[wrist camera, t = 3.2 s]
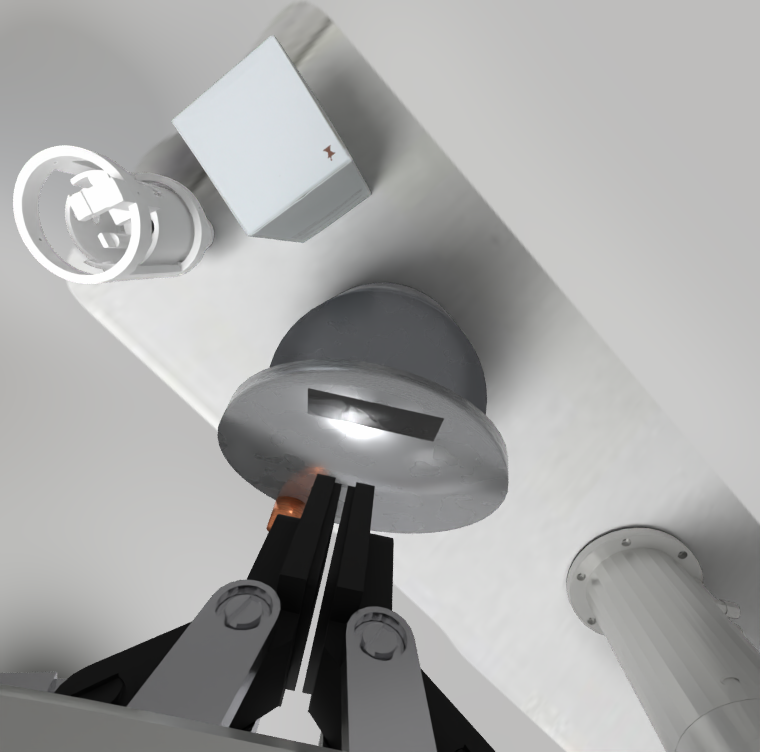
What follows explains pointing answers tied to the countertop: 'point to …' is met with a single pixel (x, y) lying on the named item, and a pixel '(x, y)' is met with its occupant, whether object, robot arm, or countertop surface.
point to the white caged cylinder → (113, 219)
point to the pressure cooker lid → (366, 443)
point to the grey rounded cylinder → (389, 337)
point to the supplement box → (272, 149)
